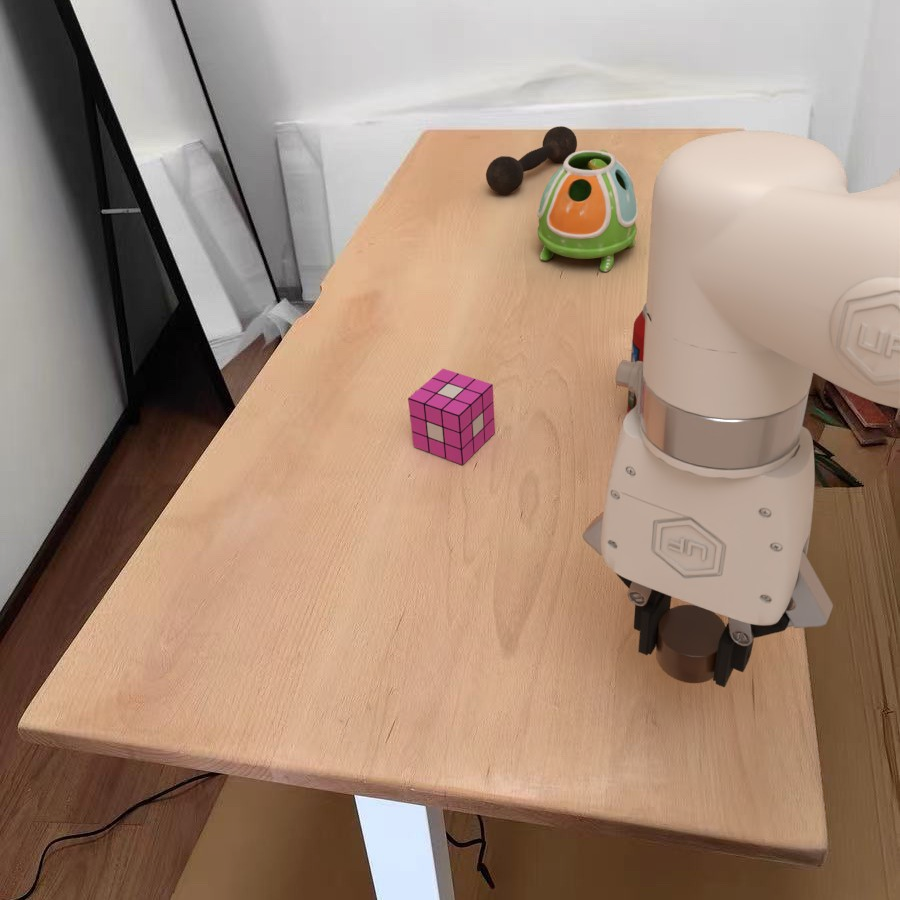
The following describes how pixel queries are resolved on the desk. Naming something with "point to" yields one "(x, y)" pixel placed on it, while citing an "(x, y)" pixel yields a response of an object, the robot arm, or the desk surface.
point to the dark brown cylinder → (689, 643)
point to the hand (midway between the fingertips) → (689, 651)
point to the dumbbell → (530, 160)
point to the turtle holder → (588, 209)
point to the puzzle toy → (452, 415)
